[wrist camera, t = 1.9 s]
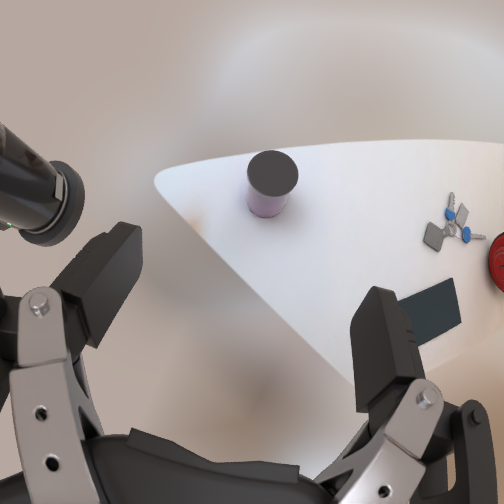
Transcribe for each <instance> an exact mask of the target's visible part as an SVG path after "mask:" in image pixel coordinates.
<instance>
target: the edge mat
mask: <svg viewBox="0 0 504 504" xmlns="http://www.w3.org/2000/svg"><path fill="white" fill-rule="evenodd" d="M398 305H399V307H401V308H403V310H404V311H405V313H406V314H407V316H408V317H409V319H410V321H411V324H412V328H413V331H414V332H413V334H414V335H415V338H416V344H417V346H420V345H422V344H424V343H426V342H428V341H430V340H431V339H433V338H435V337H437V336H439V335H441V334H443V333H444V332H446V331H448V330H450V329H451V328H453V327H455V326H457V325H458V324H460V323H461V317H460V311H459V306H458V300H457V295H456V291H455V286H454V281H453V278H450V279H448V280H445V281H443V282H441V283H439V284H437V285H435V286H432V287H430V288H428V289H426V290H423V291H421V292H419V293H417V294H414V295H412V296H410V297H407V298H405V299H402V300H400V301H398Z"/></svg>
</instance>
